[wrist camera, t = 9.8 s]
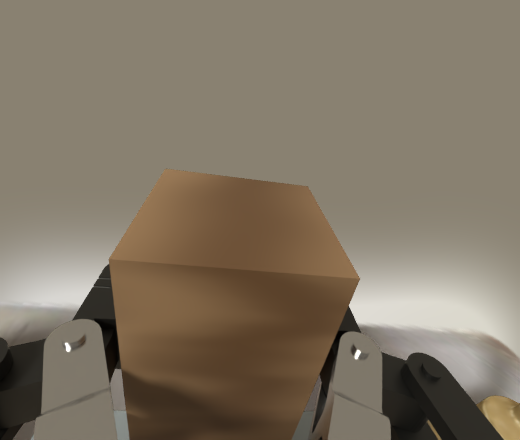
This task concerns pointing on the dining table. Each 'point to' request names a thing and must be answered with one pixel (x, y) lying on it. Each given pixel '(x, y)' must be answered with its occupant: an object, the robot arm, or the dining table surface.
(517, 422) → the hand bell
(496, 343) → the dining table surface
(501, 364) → the dining table surface
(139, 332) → the walnut post
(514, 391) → the dining table surface
